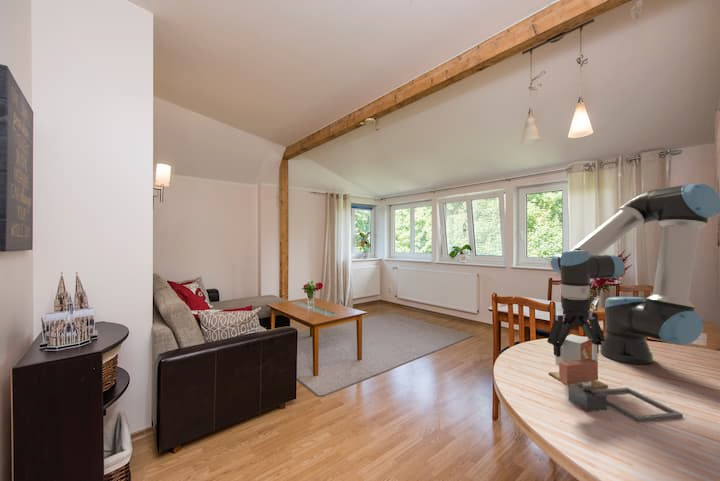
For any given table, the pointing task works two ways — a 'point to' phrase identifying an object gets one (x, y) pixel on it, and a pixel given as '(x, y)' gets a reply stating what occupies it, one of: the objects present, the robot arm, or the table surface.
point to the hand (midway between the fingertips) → (576, 364)
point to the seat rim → (669, 415)
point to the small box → (577, 348)
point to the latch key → (579, 372)
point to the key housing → (587, 398)
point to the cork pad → (593, 384)
